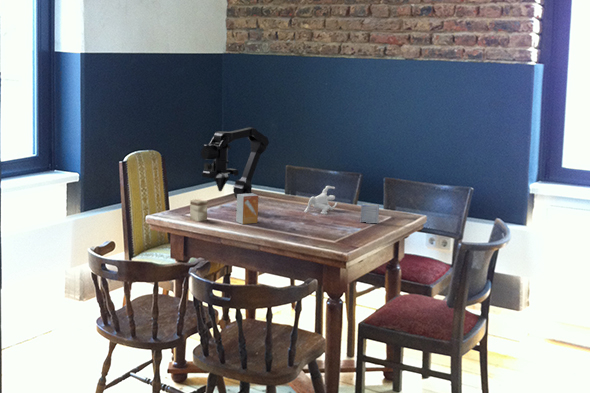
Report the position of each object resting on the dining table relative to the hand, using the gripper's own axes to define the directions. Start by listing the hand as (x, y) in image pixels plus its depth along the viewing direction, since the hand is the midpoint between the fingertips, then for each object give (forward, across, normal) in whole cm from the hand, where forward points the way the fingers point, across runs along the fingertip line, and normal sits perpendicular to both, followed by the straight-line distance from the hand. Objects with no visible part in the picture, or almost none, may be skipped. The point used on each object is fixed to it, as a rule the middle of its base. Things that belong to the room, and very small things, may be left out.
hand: (220, 191), depth 313 cm
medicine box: (+11, -44, +56) cm, 73 cm away
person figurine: (+11, -48, +24) cm, 55 cm away
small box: (+12, 0, +18) cm, 22 cm away
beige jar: (+12, +13, 0) cm, 18 cm away
